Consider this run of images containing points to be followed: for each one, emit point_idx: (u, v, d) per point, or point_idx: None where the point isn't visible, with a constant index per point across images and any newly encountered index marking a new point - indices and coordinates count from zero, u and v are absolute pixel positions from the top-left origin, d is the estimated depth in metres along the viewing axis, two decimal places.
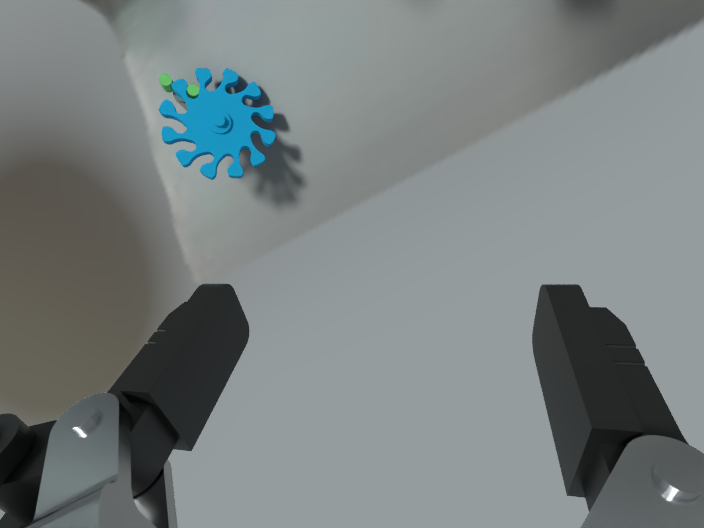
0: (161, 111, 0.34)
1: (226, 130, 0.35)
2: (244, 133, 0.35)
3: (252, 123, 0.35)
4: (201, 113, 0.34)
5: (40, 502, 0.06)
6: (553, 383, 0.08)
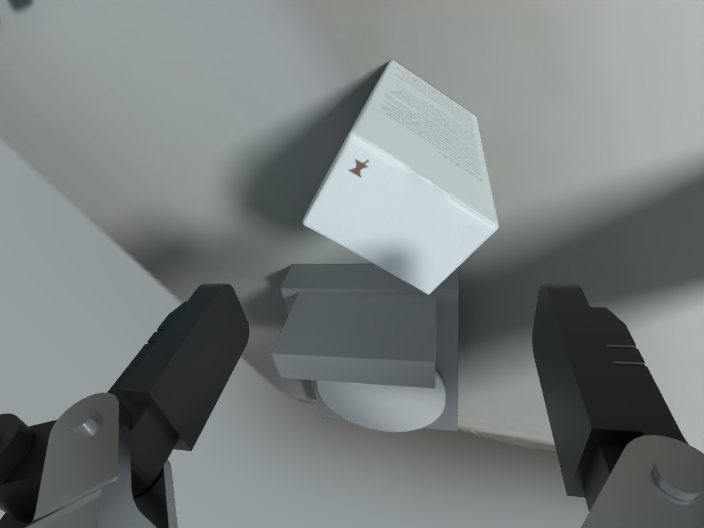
0: None
1: None
2: None
3: None
4: None
5: (40, 502, 0.06)
6: (553, 383, 0.08)
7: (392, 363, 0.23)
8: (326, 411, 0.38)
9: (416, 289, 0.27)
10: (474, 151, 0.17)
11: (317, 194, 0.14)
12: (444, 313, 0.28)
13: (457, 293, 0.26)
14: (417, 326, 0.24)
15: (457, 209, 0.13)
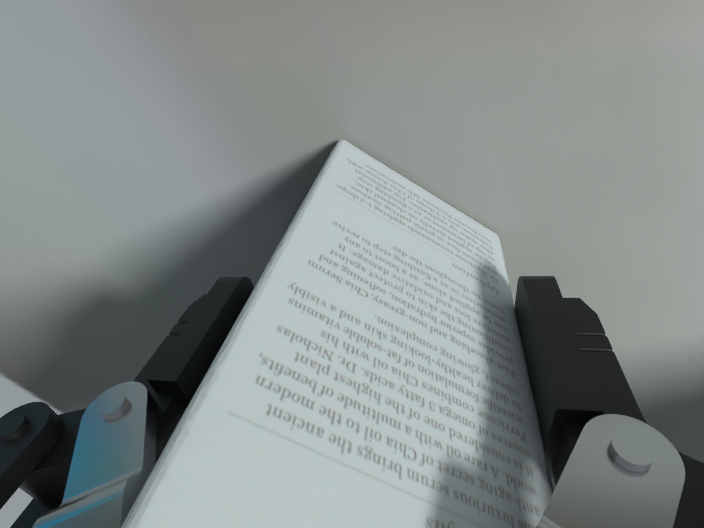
0: None
1: None
2: None
3: None
4: None
5: (68, 487, 0.06)
6: (528, 370, 0.08)
7: None
8: None
9: None
10: (512, 396, 0.07)
11: None
12: None
13: None
14: None
15: None
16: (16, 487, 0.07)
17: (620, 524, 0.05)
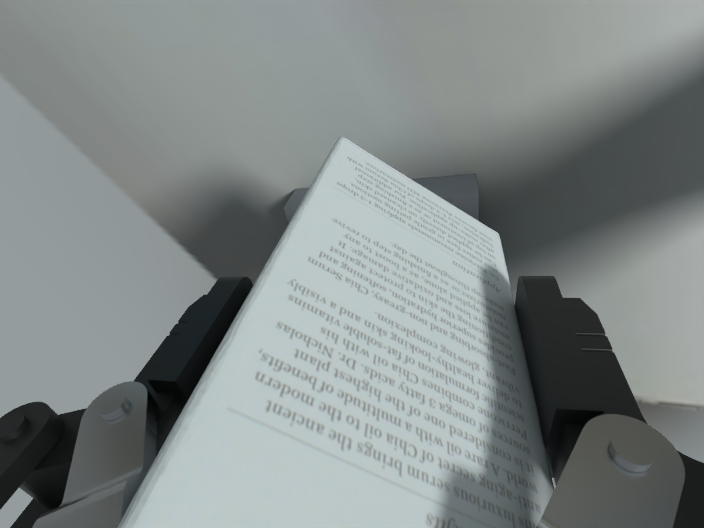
0: None
1: None
2: None
3: None
4: None
5: (68, 486, 0.06)
6: None
7: None
8: None
9: None
10: (513, 393, 0.07)
11: None
12: None
13: (477, 199, 0.24)
14: None
15: None
16: (16, 487, 0.07)
17: (620, 524, 0.05)
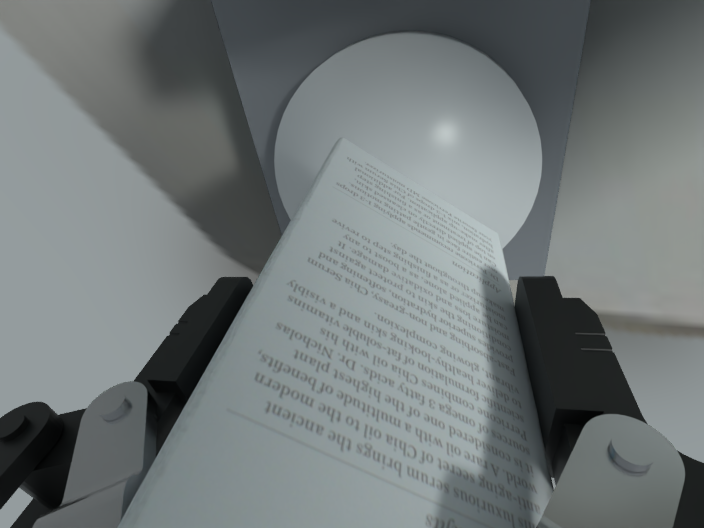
0: None
1: None
2: None
3: None
4: None
5: (68, 486, 0.06)
6: (528, 370, 0.08)
7: None
8: None
9: None
10: (512, 394, 0.07)
11: None
12: None
13: None
14: None
15: None
16: (16, 487, 0.07)
17: (620, 524, 0.05)
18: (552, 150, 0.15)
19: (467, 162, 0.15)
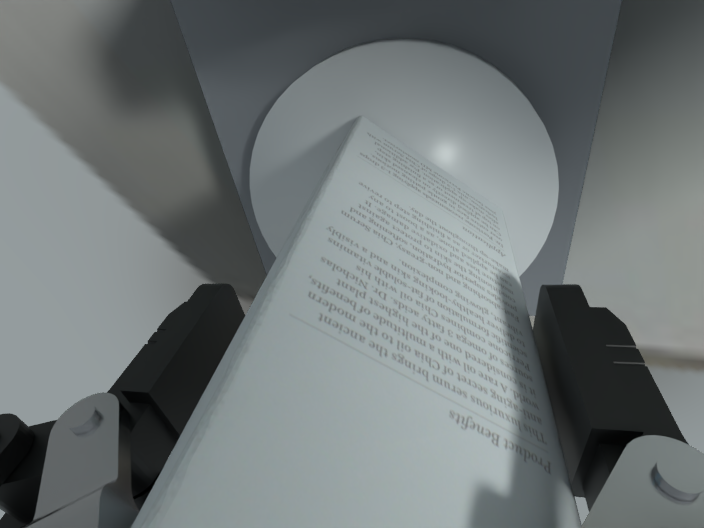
0: None
1: None
2: None
3: None
4: None
5: (40, 502, 0.06)
6: (553, 383, 0.08)
7: None
8: None
9: None
10: (517, 335, 0.08)
11: None
12: None
13: None
14: None
15: None
16: None
17: None
18: (569, 176, 0.13)
19: None
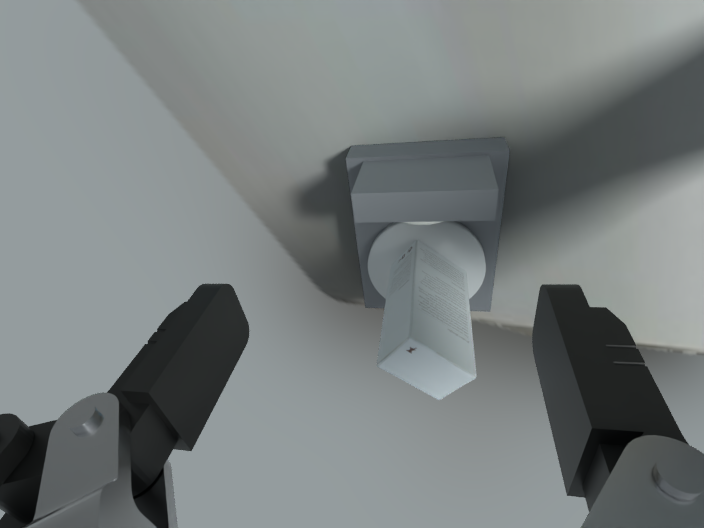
0: None
1: None
2: None
3: None
4: None
5: (39, 502, 0.06)
6: (553, 383, 0.08)
7: (461, 194, 0.27)
8: (369, 298, 0.42)
9: (471, 152, 0.31)
10: (465, 315, 0.31)
11: (387, 355, 0.27)
12: None
13: (508, 154, 0.30)
14: (478, 172, 0.28)
15: (456, 369, 0.27)
16: None
17: None
18: (491, 259, 0.36)
19: (455, 264, 0.36)
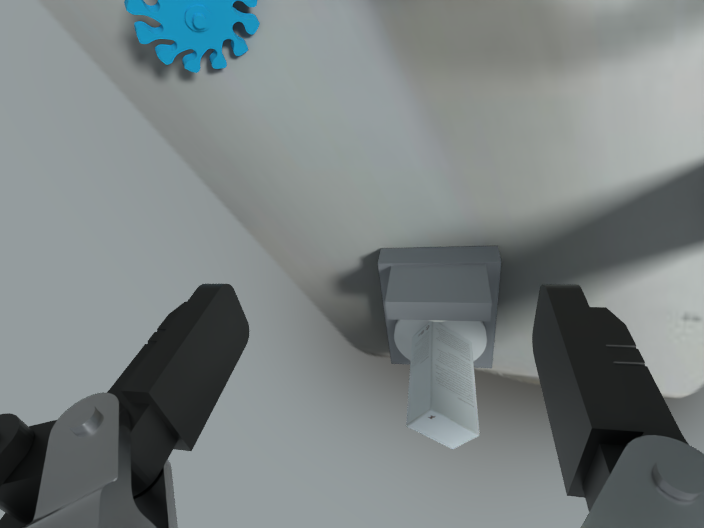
0: None
1: (190, 26, 0.31)
2: (191, 43, 0.32)
3: (204, 50, 0.33)
4: None
5: (40, 502, 0.06)
6: (553, 383, 0.08)
7: (465, 305, 0.37)
8: (395, 357, 0.52)
9: (472, 262, 0.41)
10: (470, 383, 0.42)
11: (414, 419, 0.38)
12: (490, 278, 0.42)
13: (500, 264, 0.41)
14: (477, 283, 0.39)
15: (465, 430, 0.37)
16: None
17: None
18: (490, 332, 0.47)
19: (462, 336, 0.46)
